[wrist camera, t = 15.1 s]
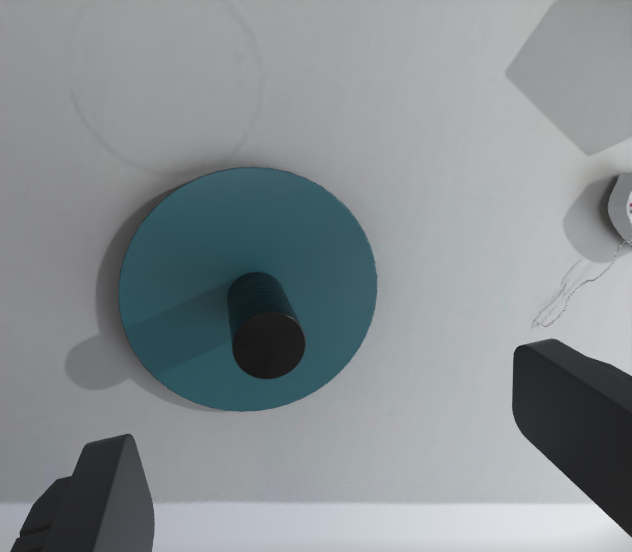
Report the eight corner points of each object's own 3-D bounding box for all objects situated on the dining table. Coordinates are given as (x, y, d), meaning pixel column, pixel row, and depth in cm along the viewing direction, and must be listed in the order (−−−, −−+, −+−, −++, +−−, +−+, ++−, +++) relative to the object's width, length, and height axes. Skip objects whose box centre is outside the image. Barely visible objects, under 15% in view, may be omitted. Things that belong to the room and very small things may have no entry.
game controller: (685, 184, 29) (729, 188, 26) (601, 343, 31) (634, 360, 29) (622, 152, 27) (663, 154, 25) (538, 324, 30) (568, 341, 27)
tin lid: (153, 423, 25) (134, 520, 19) (91, 184, 21) (41, 203, 15) (377, 375, 28) (428, 446, 21) (362, 151, 24) (419, 155, 17)
